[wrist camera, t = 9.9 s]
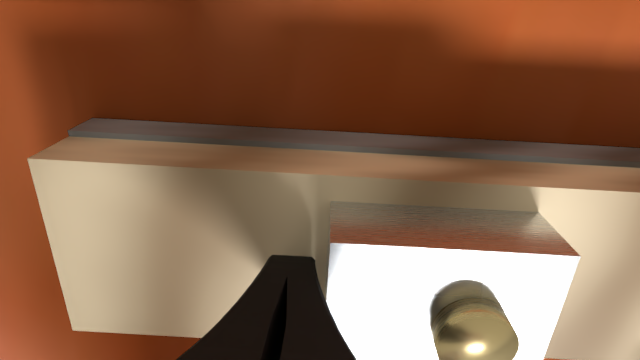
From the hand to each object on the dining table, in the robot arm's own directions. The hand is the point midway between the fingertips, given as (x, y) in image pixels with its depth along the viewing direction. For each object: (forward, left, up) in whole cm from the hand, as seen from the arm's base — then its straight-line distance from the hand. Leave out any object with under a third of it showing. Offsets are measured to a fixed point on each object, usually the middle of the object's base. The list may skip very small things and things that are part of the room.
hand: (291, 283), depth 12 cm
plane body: (0, -4, -4) cm, 6 cm away
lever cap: (0, -4, -1) cm, 4 cm away
